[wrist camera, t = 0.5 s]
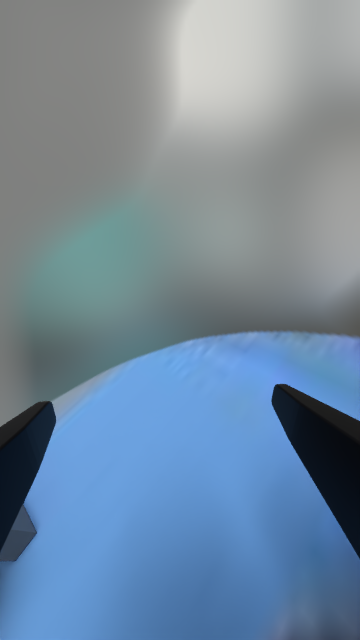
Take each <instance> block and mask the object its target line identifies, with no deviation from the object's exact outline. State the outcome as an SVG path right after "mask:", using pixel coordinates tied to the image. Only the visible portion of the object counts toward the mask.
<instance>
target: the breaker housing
mask: <svg viewBox="0 0 360 640" xmlns="http://www.w3.org/2000/svg"><path fill="white" fill-rule="evenodd" d="M36 533H37V532H36V530H35V528H34V526H33V524H32V522H31V520H30V518H29V515H28V513H27V511H26V509H25V507H24V505H22V507H21V509H20V511H19V514H18V516H17V518H16V520H15V522H14V524H13V526H12V529H11V531H10V533H9V535H8V537H7V539H6V541H5V544H4V546H3V548H2V550H1V552H0V561H16V559H17V558H18V557H19V555H20V554H21V553H22V551H23V550H24V549H25V547H26V546H27V545H28V544H29V542H30V541H31V540H32V538H33V537H34V536H35V534H36Z"/></svg>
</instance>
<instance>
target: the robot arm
mask: <svg viewBox="0 0 360 640" xmlns="http://www.w3.org/2000/svg"><path fill="white" fill-rule="evenodd" d="M272 405H273V408H274V410H275V412H276V414H277V416H278V418H279V420H280V422H281V424H282V426H283V428H284V431H285V433H286V435H287V437H288V439H289V441H290V442H291V444H292V446H293V448H294V449H295V451H296V453H297V454H298V456H299V458H300V459H301V461H302V463H303V464H304V466H305V468H306V469H307V471H308V473H309V474H310V476H311V478H312V480H313V481H314V483H315V485H316V486H317V488H318V490H319V491H320V493H321V495H322V496H323V498H324V500H325V501H326V503H327V505H328V506H329V508H330V510H331V511H332V513H333V515H334V516H335V518H336V520H337V521H338V523H339V525H340V526H341V528H342V530H343V532H344V533H345V535H346V537H347V538H348V540H349V542H350V543H351V545H352V547H353V548H354V550H355V552H356V553H357V555H358V557H359V558H360V421H359V420H357V419H354V418H352V417H350V416H348V415H346V414H344V413H342V412H340V411H338V410H336V409H334V408H332V407H330V406H328V405H326V404H324V403H322V402H320V401H318V400H316V399H314V398H312V397H310V396H308V395H306V394H304V393H302V392H300V391H298V390H296V389H294V388H292V387H290V386H288V385H286V384H277V385H275V386H274V390H273V395H272ZM55 424H56V416H55V412H54V408H53V404H52V402H50V401H43V402H38V403H36V404H34V405H33V406H31V407H30V408H28V409H27V410H25V411H24V412H22V413H21V414H19V415H18V416H16V417H15V418H13V419H12V420H10V421H9V422H7V423H6V424H4V425H2V426H1V427H0V552H1V550H2V548H3V546H4V544H5V541H6V539H7V537H8V535H9V533H10V531H11V529H12V526H13V524H14V522H15V520H16V518H17V516H18V514H19V511H20V509H21V507H22V505H23V503H24V501H25V499H26V496H27V494H28V492H29V490H30V488H31V486H32V484H33V481H34V479H35V477H36V475H37V473H38V470H39V468H40V465H41V463H42V460H43V457H44V455H45V452H46V449H47V446H48V444H49V441H50V438H51V435H52V432H53V430H54V427H55Z"/></svg>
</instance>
